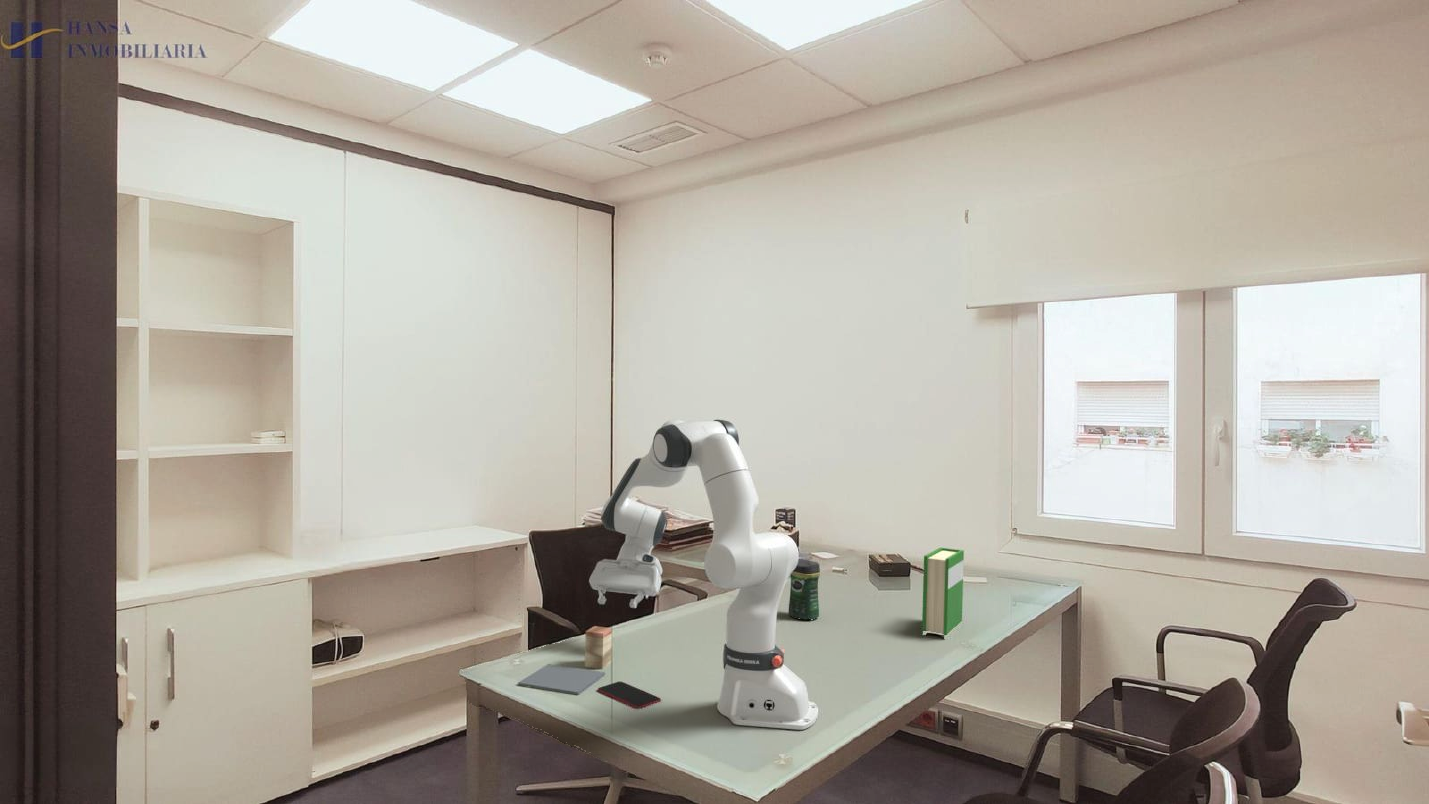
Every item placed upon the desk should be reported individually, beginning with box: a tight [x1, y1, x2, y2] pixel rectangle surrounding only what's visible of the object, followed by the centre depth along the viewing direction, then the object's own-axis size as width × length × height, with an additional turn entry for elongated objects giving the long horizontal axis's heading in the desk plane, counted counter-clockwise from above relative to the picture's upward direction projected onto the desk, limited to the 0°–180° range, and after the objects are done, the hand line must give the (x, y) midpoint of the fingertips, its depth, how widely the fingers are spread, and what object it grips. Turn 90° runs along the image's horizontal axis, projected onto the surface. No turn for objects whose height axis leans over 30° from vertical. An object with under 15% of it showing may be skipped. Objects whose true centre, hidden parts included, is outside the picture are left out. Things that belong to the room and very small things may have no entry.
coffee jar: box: [787, 558, 821, 620], centre depth 244 cm, size 10×8×19 cm
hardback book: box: [921, 547, 965, 635], centre depth 234 cm, size 18×7×24 cm, turn 148°
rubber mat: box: [517, 663, 606, 696], centre depth 184 cm, size 16×14×1 cm
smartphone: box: [597, 681, 662, 710], centre depth 175 cm, size 7×1×15 cm
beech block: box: [584, 625, 613, 670], centre depth 195 cm, size 5×5×9 cm
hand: (616, 604), depth 205 cm, fingers open, 8 cm apart
